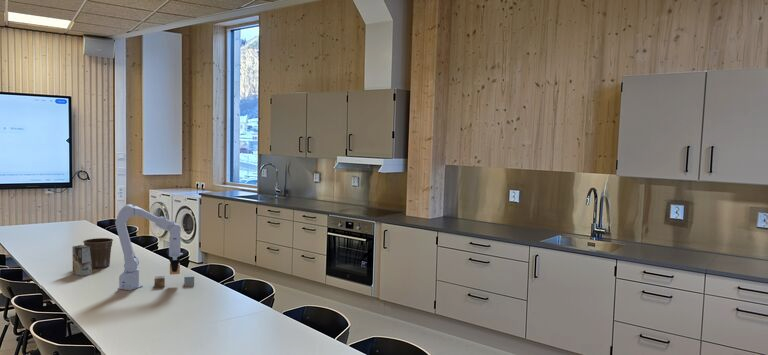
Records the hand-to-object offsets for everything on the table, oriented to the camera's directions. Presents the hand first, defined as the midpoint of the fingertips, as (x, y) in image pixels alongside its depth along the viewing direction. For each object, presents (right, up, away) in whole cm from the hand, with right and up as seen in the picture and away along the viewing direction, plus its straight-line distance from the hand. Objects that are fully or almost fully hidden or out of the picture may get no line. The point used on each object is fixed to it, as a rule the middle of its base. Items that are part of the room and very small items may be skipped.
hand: (174, 270), depth 299 cm
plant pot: (-61, -4, +37) cm, 71 cm away
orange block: (0, -2, 0) cm, 2 cm away
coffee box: (-60, -5, +18) cm, 63 cm away
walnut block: (-7, -8, -2) cm, 11 cm away
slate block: (+7, -8, +3) cm, 11 cm away
